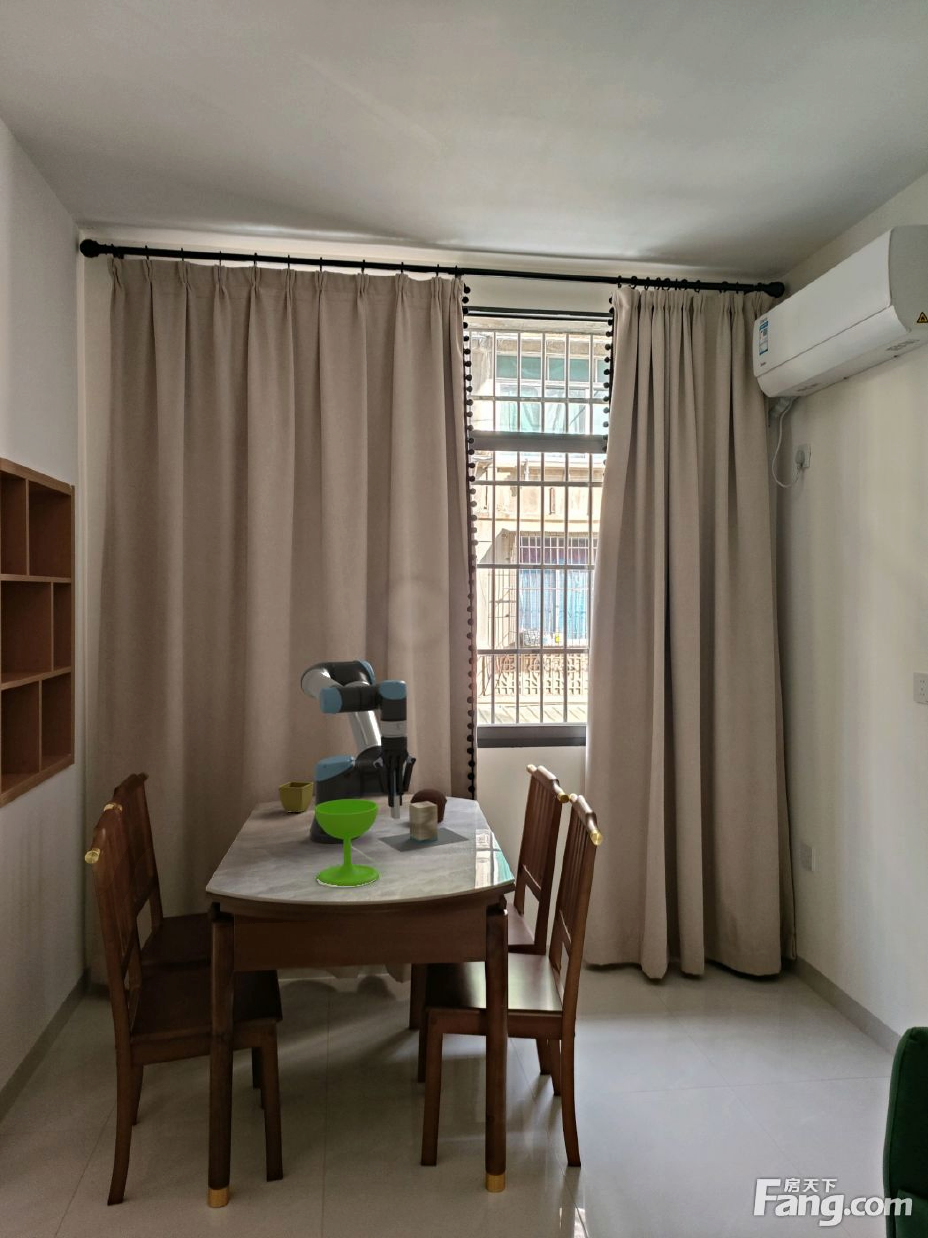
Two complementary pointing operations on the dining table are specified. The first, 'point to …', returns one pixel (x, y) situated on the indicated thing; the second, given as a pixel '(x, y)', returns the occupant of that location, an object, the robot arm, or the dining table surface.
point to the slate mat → (407, 844)
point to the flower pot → (296, 796)
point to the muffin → (432, 800)
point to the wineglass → (347, 838)
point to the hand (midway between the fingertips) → (395, 817)
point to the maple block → (423, 822)
